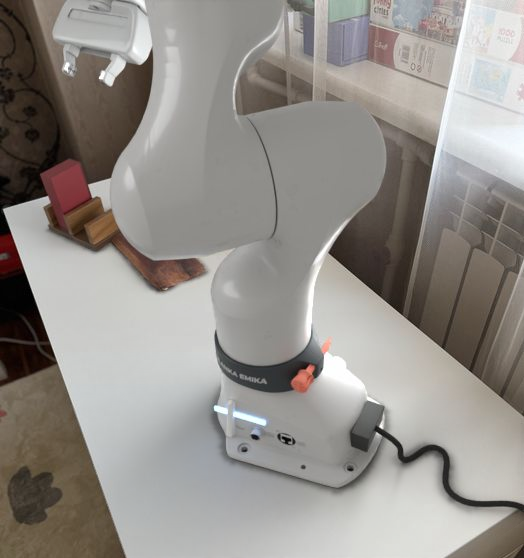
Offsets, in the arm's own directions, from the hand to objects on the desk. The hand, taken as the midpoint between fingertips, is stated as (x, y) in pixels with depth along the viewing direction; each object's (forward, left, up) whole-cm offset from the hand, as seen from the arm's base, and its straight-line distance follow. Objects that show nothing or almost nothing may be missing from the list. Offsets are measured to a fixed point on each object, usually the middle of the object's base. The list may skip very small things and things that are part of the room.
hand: (85, 79), depth 90 cm
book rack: (+3, +7, -27) cm, 27 cm away
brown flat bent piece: (-12, +6, -27) cm, 30 cm away
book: (+6, +6, -25) cm, 27 cm away
